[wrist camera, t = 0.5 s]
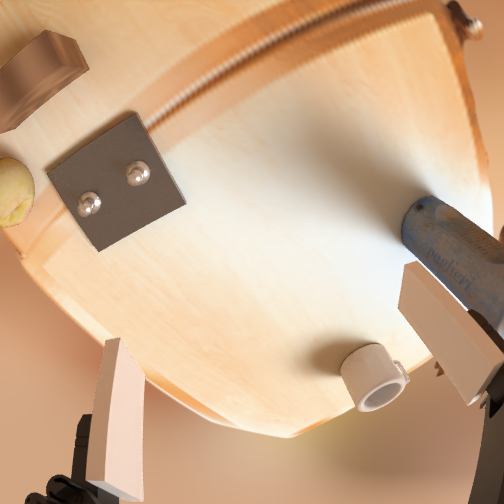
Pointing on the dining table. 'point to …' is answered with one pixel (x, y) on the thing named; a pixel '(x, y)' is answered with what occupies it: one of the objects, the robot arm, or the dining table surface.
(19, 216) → the fruit
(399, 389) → the mug
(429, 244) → the bottle
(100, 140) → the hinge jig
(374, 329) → the dining table surface
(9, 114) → the door
